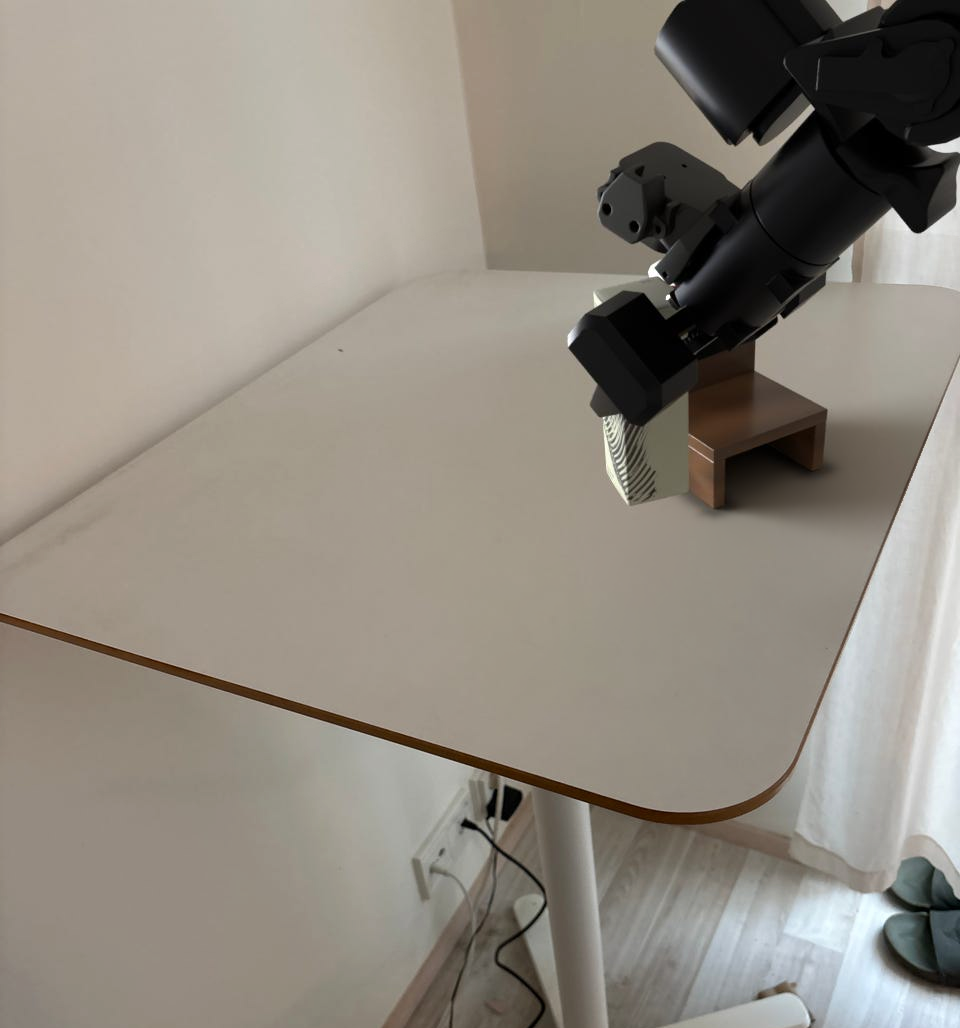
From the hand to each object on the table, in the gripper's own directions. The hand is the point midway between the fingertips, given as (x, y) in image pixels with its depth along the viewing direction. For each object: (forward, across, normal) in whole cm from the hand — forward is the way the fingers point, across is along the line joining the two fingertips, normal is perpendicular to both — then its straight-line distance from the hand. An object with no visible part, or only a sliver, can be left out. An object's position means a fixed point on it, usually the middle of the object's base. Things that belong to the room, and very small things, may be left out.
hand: (626, 388), depth 60 cm
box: (+4, 0, +6) cm, 7 cm away
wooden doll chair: (+10, -15, +8) cm, 20 cm away
